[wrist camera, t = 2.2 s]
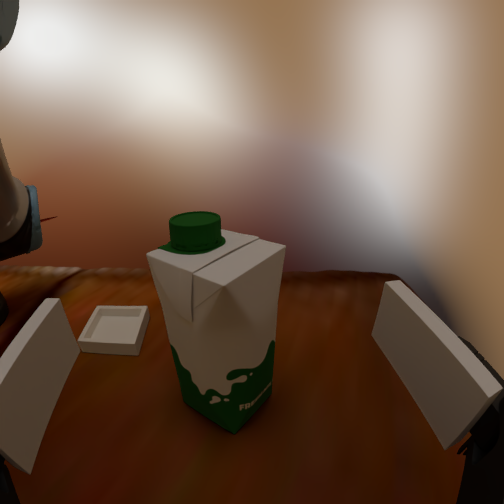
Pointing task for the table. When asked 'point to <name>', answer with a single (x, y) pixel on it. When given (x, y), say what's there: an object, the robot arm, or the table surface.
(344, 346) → the table surface
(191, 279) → the milk carton
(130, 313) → the small square white tray
